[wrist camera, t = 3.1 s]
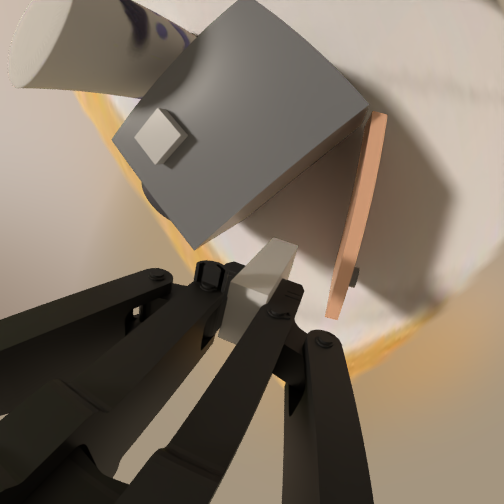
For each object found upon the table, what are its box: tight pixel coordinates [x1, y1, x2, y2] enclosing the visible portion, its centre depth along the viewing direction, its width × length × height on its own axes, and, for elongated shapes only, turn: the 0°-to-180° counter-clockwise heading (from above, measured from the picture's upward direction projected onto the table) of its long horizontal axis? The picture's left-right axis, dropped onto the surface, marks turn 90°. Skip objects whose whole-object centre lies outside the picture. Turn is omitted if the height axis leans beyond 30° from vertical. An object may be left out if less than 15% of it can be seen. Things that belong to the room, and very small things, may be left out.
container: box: [8, 0, 197, 99], centre depth 21 cm, size 10×10×20 cm
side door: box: [325, 111, 387, 320], centre depth 23 cm, size 15×2×10 cm, turn 172°
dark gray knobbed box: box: [112, 0, 370, 250], centre depth 24 cm, size 18×12×13 cm, turn 132°
